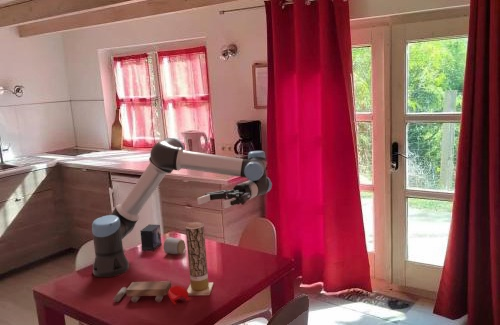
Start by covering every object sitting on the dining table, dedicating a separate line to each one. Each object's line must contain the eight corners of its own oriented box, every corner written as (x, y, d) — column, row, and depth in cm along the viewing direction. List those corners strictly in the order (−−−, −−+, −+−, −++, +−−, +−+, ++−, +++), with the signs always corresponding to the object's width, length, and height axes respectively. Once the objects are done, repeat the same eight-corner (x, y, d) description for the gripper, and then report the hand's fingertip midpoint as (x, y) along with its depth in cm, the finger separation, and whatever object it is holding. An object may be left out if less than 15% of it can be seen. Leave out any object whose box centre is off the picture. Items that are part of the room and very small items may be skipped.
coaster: (185, 295, 176) (185, 293, 176) (190, 285, 185) (190, 282, 185) (209, 295, 175) (209, 292, 175) (213, 284, 184) (213, 282, 184)
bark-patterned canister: (201, 292, 176) (196, 228, 171) (187, 289, 179) (181, 226, 175) (212, 285, 181) (207, 223, 177) (198, 282, 185) (193, 221, 181)
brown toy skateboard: (113, 303, 174) (111, 290, 173) (121, 292, 182) (120, 281, 181) (166, 302, 172) (165, 289, 171) (172, 291, 180) (171, 279, 180)
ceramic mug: (179, 257, 217) (177, 241, 216) (163, 255, 220) (162, 239, 219) (190, 249, 227) (188, 234, 226) (175, 248, 230) (174, 233, 229)
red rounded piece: (166, 299, 167) (180, 290, 166) (164, 287, 172) (178, 278, 172) (179, 311, 171) (193, 302, 171) (177, 299, 176) (190, 290, 176)
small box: (154, 251, 226) (152, 230, 225) (141, 251, 228) (139, 230, 226) (162, 244, 237) (160, 224, 235) (150, 244, 238) (148, 224, 236)
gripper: (269, 203, 192) (236, 216, 175) (223, 197, 207) (188, 208, 191) (268, 185, 191) (234, 197, 174) (222, 180, 206) (187, 190, 190)
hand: (210, 203), depth 182 cm, fingers open, 13 cm apart
